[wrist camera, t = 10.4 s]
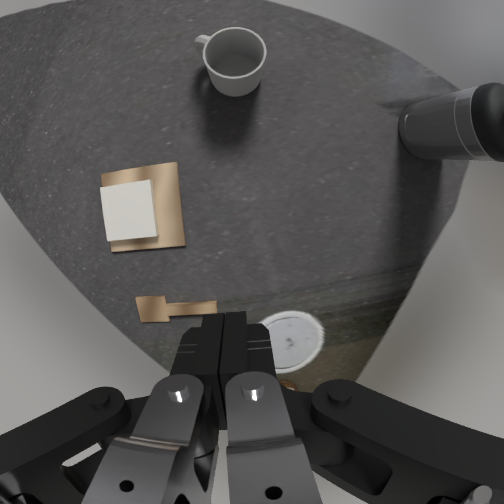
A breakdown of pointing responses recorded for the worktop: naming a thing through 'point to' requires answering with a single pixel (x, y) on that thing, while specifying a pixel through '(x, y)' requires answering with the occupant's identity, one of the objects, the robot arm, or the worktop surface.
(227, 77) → the cup
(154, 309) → the tan tapered flat part
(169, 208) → the board
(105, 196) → the tile
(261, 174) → the worktop surface
